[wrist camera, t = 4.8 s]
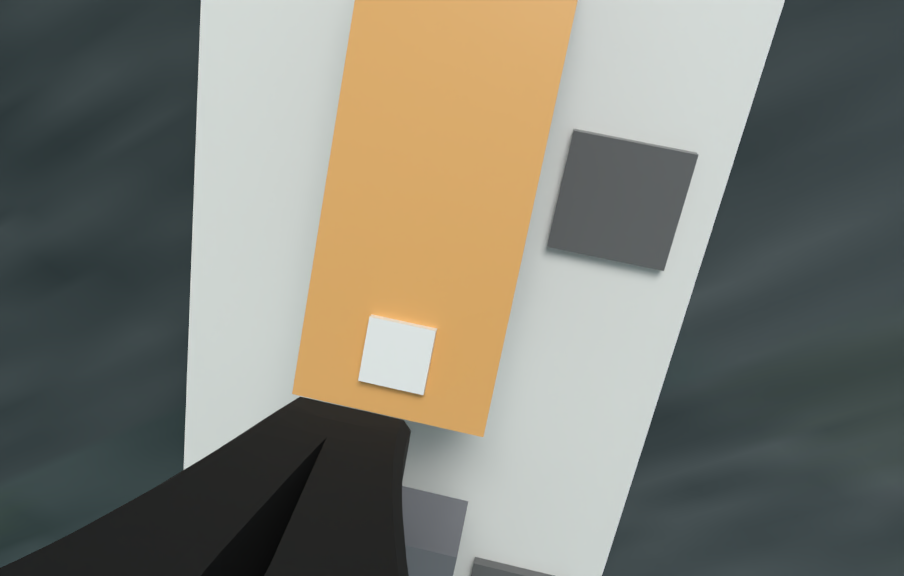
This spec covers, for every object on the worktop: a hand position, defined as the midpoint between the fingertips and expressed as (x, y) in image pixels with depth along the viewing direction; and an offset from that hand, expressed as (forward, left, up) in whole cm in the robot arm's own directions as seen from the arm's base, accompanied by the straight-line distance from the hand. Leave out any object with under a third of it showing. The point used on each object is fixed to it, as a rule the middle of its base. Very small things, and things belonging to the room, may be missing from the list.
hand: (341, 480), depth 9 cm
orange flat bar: (0, -3, -4) cm, 5 cm away
